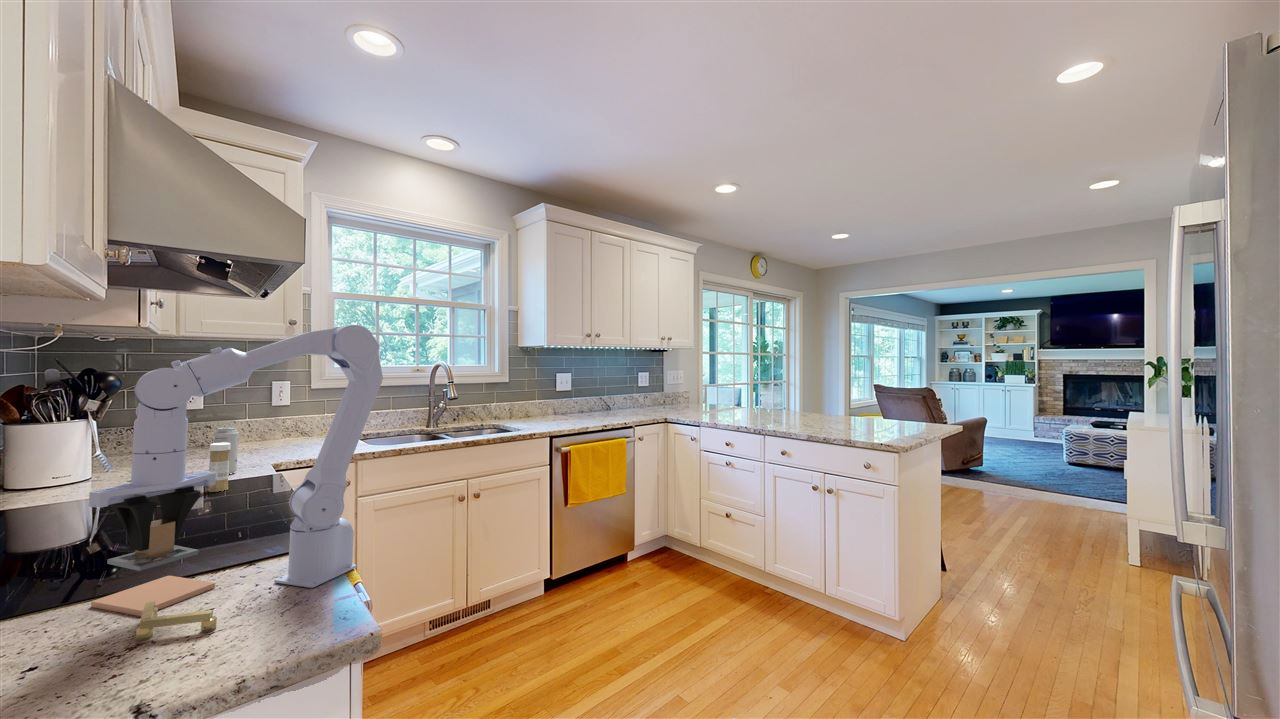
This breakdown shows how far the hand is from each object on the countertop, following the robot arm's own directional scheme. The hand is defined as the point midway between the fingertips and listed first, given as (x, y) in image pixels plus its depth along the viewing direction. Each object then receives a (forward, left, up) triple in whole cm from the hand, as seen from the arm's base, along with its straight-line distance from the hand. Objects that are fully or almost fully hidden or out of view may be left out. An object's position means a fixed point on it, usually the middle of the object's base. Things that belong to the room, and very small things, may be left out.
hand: (155, 545), depth 73 cm
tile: (-4, -6, -10) cm, 12 cm away
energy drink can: (-74, -85, -10) cm, 113 cm away
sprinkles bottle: (-57, -65, -10) cm, 87 cm away
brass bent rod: (+3, +7, -10) cm, 12 cm away
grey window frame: (0, 0, -2) cm, 2 cm away
